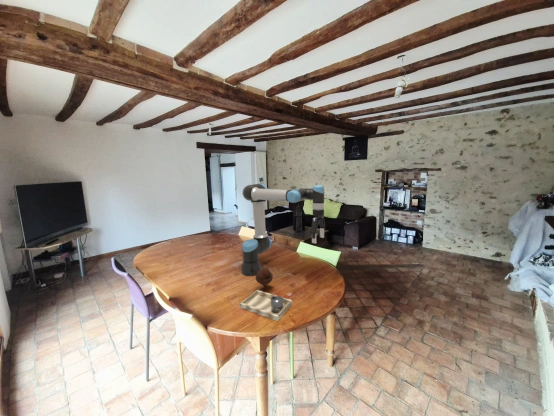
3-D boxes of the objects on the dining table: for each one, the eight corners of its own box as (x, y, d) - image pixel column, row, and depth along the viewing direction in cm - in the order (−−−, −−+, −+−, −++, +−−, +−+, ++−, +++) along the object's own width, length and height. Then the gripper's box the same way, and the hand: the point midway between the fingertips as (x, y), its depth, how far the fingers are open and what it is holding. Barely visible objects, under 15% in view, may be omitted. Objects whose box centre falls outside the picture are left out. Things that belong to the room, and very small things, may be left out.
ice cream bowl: (273, 285, 148) (272, 263, 146) (273, 294, 137) (272, 271, 135) (256, 286, 148) (255, 264, 145) (255, 295, 137) (254, 272, 134)
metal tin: (269, 311, 119) (268, 300, 118) (275, 304, 125) (274, 294, 124) (279, 314, 116) (279, 304, 115) (285, 308, 122) (285, 298, 121)
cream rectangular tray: (240, 309, 123) (239, 303, 123) (257, 295, 137) (256, 289, 136) (277, 323, 111) (277, 316, 111) (292, 306, 125) (292, 300, 124)
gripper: (316, 212, 135) (316, 246, 139) (330, 206, 156) (330, 236, 160) (304, 211, 139) (305, 244, 143) (320, 205, 160) (320, 234, 164)
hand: (318, 240), depth 151 cm, fingers open, 13 cm apart
